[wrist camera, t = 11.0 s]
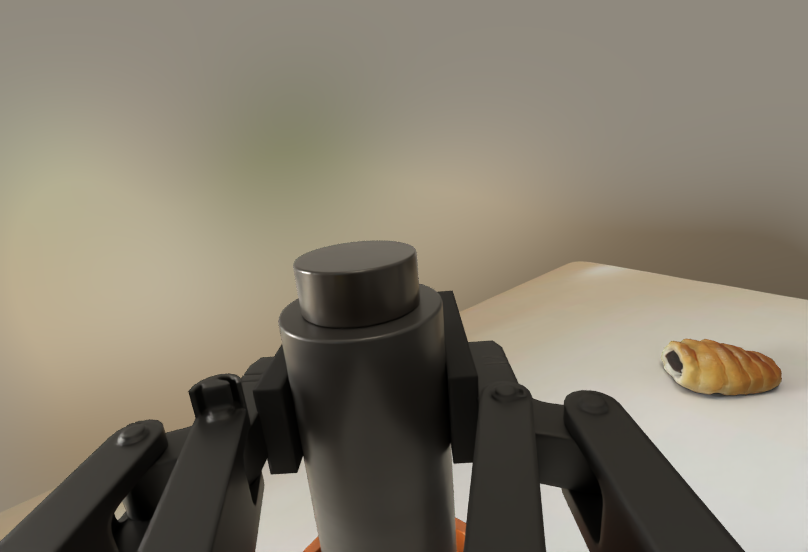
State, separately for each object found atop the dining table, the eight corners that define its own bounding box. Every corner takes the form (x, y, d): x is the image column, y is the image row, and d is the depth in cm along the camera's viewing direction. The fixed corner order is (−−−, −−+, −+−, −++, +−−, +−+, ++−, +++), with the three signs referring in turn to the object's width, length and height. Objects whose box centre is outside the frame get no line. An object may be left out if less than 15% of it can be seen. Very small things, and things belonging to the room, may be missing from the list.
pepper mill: (451, 508, 16) (434, 231, 13) (466, 636, 12) (447, 272, 9) (339, 514, 16) (294, 242, 13) (315, 642, 12) (239, 288, 9)
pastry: (752, 362, 43) (759, 329, 42) (800, 401, 37) (809, 364, 36) (654, 362, 45) (657, 330, 44) (683, 399, 39) (688, 363, 37)
